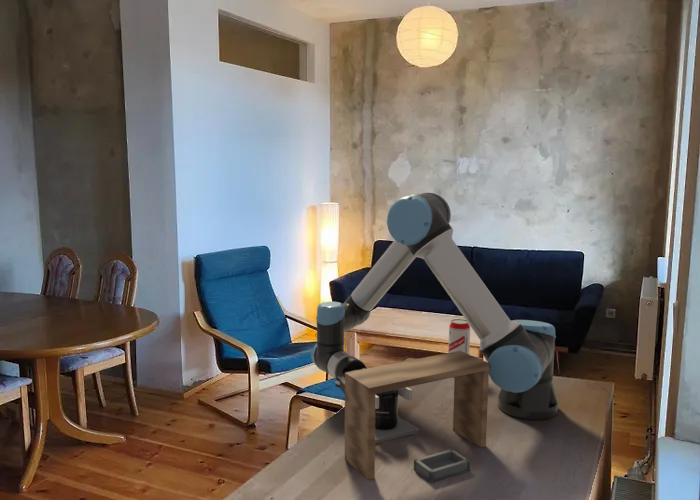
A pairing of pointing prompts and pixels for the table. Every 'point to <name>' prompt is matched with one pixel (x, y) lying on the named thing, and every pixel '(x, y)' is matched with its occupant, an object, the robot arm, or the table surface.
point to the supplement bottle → (387, 410)
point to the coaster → (395, 431)
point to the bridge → (405, 374)
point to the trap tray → (441, 465)
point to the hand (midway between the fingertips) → (394, 399)
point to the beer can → (459, 336)
